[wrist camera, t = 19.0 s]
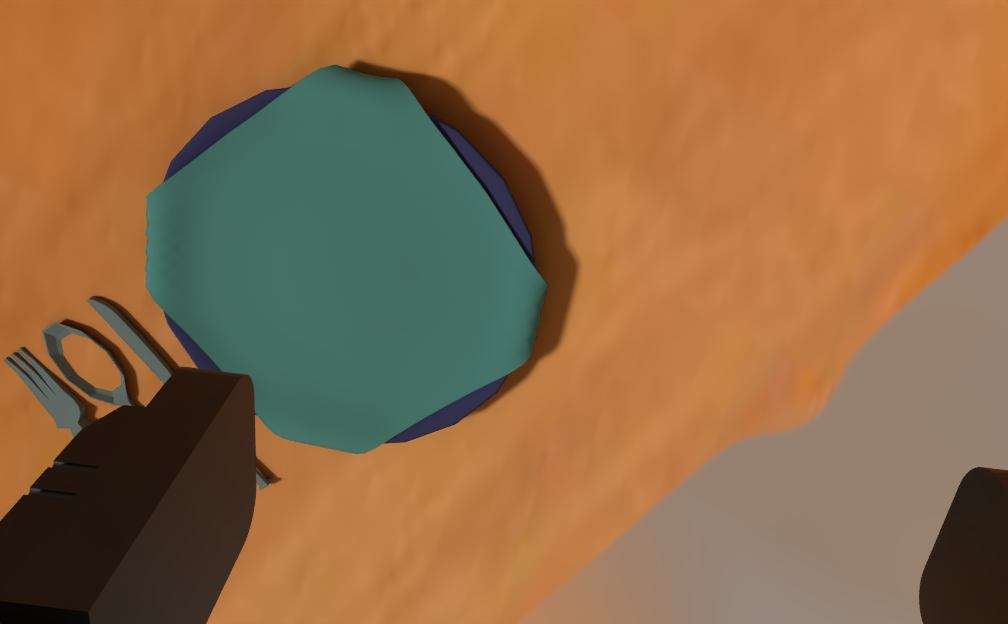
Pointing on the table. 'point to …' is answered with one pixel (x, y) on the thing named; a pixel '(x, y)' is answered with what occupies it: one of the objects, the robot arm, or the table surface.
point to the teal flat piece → (330, 267)
